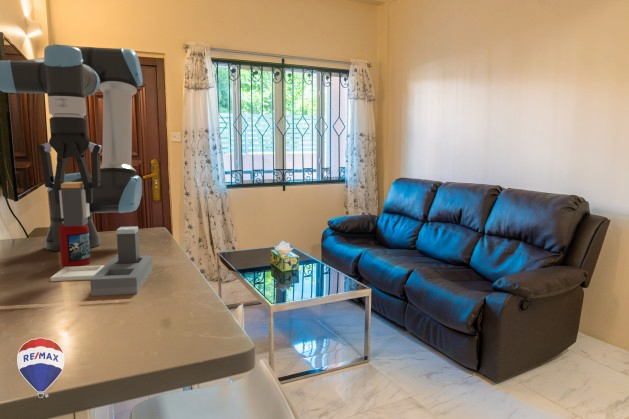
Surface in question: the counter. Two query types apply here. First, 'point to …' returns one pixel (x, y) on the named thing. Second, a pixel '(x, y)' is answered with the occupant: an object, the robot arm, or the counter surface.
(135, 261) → the twin plug
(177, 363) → the counter surface
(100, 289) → the grey socket block
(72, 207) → the plug
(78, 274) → the tray
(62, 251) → the beverage can
